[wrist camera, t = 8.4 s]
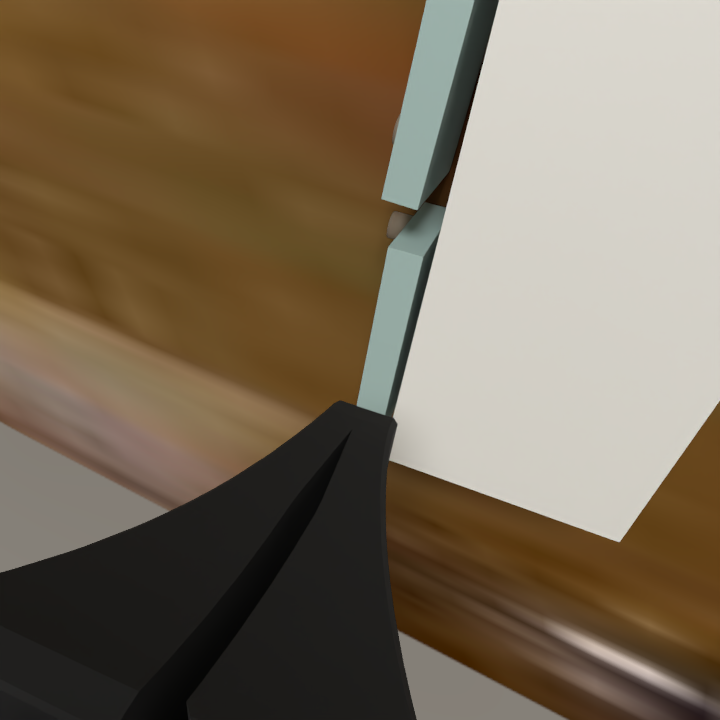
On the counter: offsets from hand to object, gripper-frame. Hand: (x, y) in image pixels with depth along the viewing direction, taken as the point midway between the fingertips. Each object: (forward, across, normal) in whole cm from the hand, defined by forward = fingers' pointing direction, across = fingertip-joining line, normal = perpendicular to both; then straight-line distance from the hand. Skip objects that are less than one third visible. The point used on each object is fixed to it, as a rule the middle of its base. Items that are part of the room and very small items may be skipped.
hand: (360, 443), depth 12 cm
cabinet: (+10, -3, -4) cm, 11 cm away
